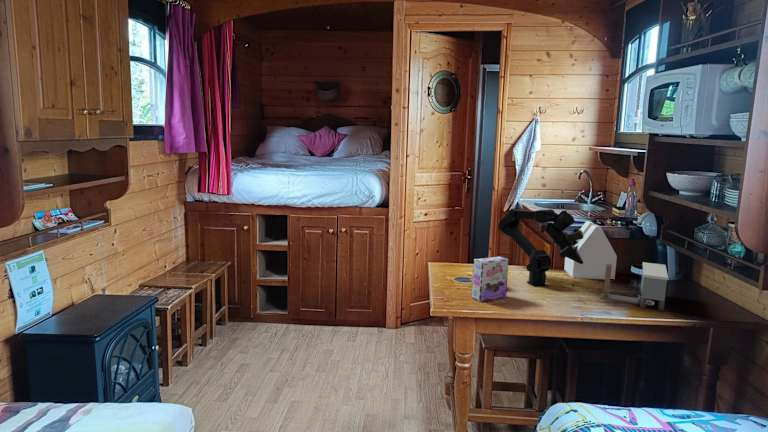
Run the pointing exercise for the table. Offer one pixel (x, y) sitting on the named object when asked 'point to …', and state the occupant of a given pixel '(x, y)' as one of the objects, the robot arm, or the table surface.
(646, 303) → the steel token
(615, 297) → the sweeper
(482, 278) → the candy box
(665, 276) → the cabinet
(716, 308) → the table surface
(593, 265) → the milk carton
